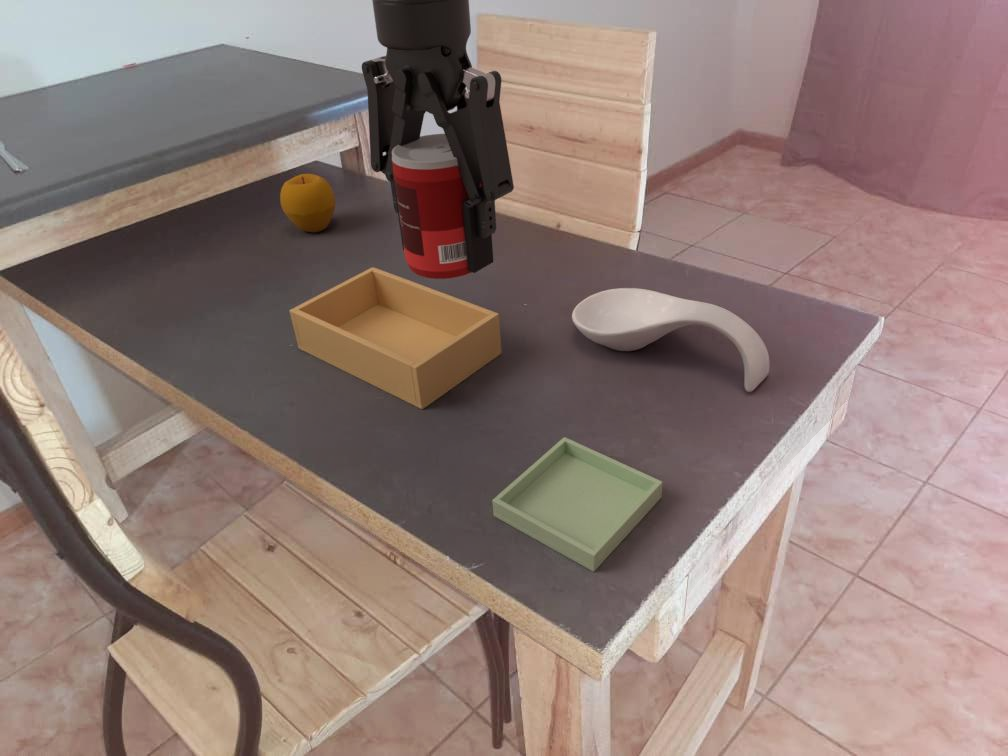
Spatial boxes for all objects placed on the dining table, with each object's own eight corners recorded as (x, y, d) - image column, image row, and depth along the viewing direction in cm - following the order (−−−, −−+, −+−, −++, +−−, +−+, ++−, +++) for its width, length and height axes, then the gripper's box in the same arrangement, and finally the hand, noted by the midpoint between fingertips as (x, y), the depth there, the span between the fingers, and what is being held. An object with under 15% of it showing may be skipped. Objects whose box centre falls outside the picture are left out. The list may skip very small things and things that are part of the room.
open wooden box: (501, 353, 93) (499, 313, 90) (422, 409, 84) (416, 368, 81) (379, 303, 105) (372, 266, 101) (298, 348, 96) (288, 310, 93)
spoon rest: (553, 344, 94) (552, 292, 90) (606, 303, 101) (607, 253, 97) (738, 412, 81) (746, 354, 77) (783, 360, 88) (793, 305, 84)
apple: (288, 221, 130) (277, 170, 125) (340, 215, 131) (330, 163, 126) (286, 242, 123) (273, 189, 118) (340, 235, 124) (329, 182, 119)
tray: (593, 572, 65) (594, 555, 63) (493, 516, 71) (491, 500, 69) (661, 497, 71) (662, 481, 70) (564, 452, 77) (564, 436, 76)
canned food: (504, 252, 75) (497, 138, 68) (457, 287, 69) (445, 167, 63) (439, 238, 78) (427, 128, 72) (390, 271, 73) (372, 155, 66)
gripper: (554, -14, 57) (559, 267, 70) (365, -24, 68) (398, 219, 81) (490, 3, 52) (507, 300, 65) (297, -11, 64) (344, 245, 76)
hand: (447, 255), depth 73 cm, fingers closed on canned food, 8 cm apart
